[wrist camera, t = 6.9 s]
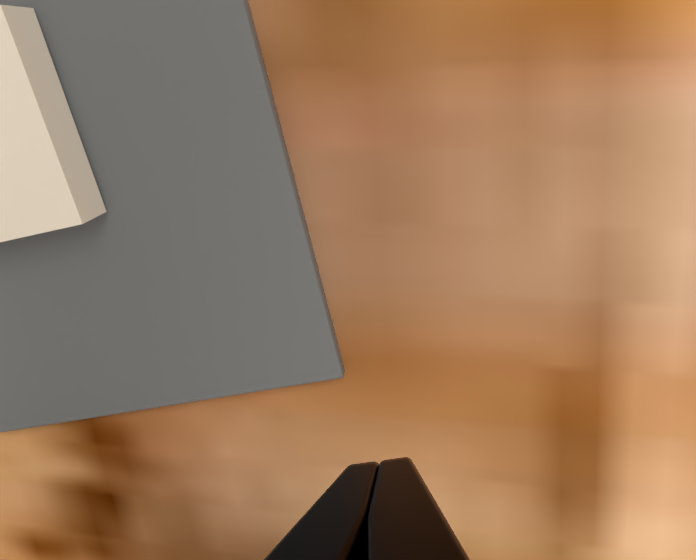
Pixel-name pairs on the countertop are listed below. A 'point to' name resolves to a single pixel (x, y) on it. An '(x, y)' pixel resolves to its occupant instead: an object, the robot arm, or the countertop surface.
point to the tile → (38, 138)
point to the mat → (163, 226)
